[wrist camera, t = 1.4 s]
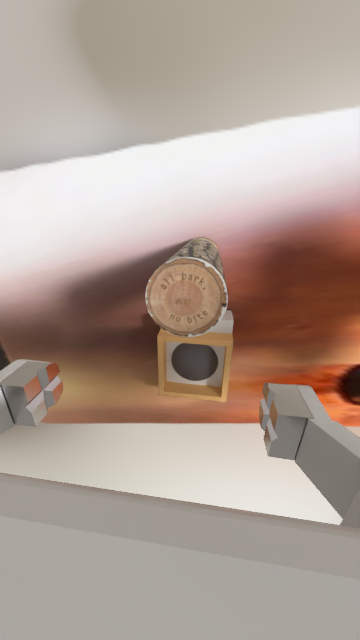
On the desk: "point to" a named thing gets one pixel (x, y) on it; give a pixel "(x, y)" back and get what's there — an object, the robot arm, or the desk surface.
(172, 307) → the paper tube
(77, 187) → the desk surface
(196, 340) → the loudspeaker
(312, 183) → the desk surface
